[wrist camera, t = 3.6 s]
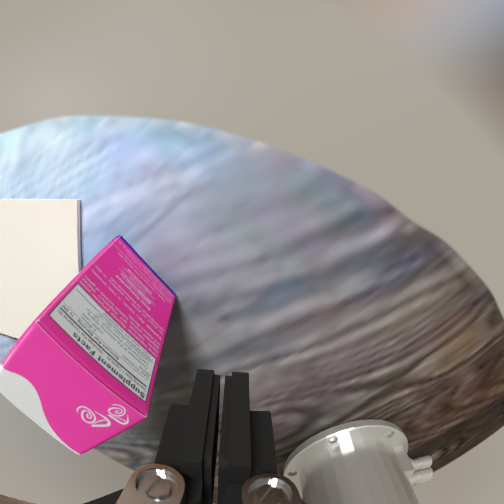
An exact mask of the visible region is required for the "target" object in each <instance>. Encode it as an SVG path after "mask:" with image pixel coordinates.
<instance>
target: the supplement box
mask: <svg viewBox="0 0 504 504" xmlns="http://www.w3.org/2000/svg"><path fill="white" fill-rule="evenodd" d="M175 297H176V294H175V293H174V292H173V291H172V290H171V289H170V288H169V287H168V286H167V285H166V284H165V282H164V281H163V280H162V279H161V278H160V277H159V276H158V275H157V274H156V273H155V272H154V271H153V270H152V269H151V268H150V267H149V266H148V264H147V263H146V262H145V261H144V260H143V259H142V258H141V257H140V256H139V255H138V254H137V252H136V251H135V250H134V249H133V248H132V247H131V246H130V245H129V244H128V243H127V241H126V240H125V239H124V238H123V237H122V236H121V235H118V236H117V237H116V238H114V239H113V240H112V241H111V242H110V243H109V244H108V245H107V246H106V247H105V248H103V249H102V250H101V251H100V252H99V253H98V254H97V255H96V256H95V257H94V258H93V259H92V260H91V261H90V262H89V263H88V264H87V265H86V266H85V267H84V268H83V269H82V270H81V271H80V272H79V273H78V274H77V275H76V276H75V277H74V278H73V279H72V280H71V281H70V282H69V283H68V285H67V286H66V287H65V288H64V289H63V290H62V291H61V292H60V293H59V294H58V295H57V296H56V297H55V298H54V299H53V300H52V301H51V302H50V303H49V305H48V306H47V307H46V308H45V309H44V310H43V311H42V312H41V313H40V314H39V315H38V316H37V318H36V319H35V320H34V321H33V322H32V323H31V324H30V326H29V327H28V328H27V329H26V330H25V331H24V333H23V334H22V335H21V337H20V338H19V339H18V340H17V342H16V343H15V344H14V346H13V347H12V348H11V350H10V351H9V353H8V354H7V355H6V357H5V358H4V360H3V361H2V363H1V364H0V393H1V394H3V395H4V396H5V397H6V398H7V399H8V400H9V401H10V402H11V403H12V404H14V405H15V406H16V407H17V408H18V409H20V410H21V411H22V412H23V413H24V414H25V415H27V416H28V417H29V418H30V419H31V420H33V421H34V422H35V423H36V424H38V425H39V426H40V427H41V428H43V429H44V430H45V431H46V432H48V433H49V434H50V435H51V436H53V437H54V438H55V439H57V440H58V441H59V442H61V443H62V444H63V445H65V446H66V447H67V448H69V449H70V450H72V451H73V452H75V453H76V454H78V455H81V454H83V453H85V452H87V451H89V450H90V449H92V448H94V447H96V446H98V445H100V444H102V443H103V442H105V441H107V440H109V439H111V438H112V437H114V436H116V435H118V434H120V433H121V432H123V431H125V430H127V429H129V428H130V427H132V426H134V425H135V424H137V423H139V422H141V421H142V420H144V419H146V418H147V416H148V411H149V406H150V401H151V396H152V392H153V387H154V383H155V378H156V374H157V369H158V365H159V361H160V357H161V352H162V348H163V344H164V340H165V335H166V331H167V327H168V324H169V320H170V316H171V312H172V308H173V304H174V301H175Z"/></svg>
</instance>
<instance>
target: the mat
mask: <svg viewBox="0 0 504 504" xmlns="http://www.w3.org/2000/svg"><path fill="white" fill-rule="evenodd" d="M80 201H81V200H74V199H0V333H2V334H5V335H8V336H12V337H15V338H18V339H19V338H20V337H21V335H22V334H23V333H24V331H25V330H26V329H27V328H28V327H29V326H30V324H31V323H32V322H33V321H34V320H35V319H36V318H37V316H38V315H39V314H40V313H41V312H42V311H43V310H44V309H45V308H46V307H47V306H48V305H49V303H50V302H51V301H52V300H53V299H54V298H55V297H56V296H57V295H58V294H59V293H60V292H61V291H62V290H63V289H64V288H65V287H66V286H67V285H68V283H69V282H70V281H71V280H72V279H73V278H74V277H75V276H76V275H77V274H78V273H79V272H80V271H81V270H82V264H81V237H80Z"/></svg>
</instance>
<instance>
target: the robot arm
mask: <svg viewBox="0 0 504 504" xmlns="http://www.w3.org/2000/svg"><path fill="white" fill-rule="evenodd" d="M219 395H220V375H214V370H204V369H198V370H197V374H196V378H195V383H194V388H193V392H192V397H191V402H190V406H186V405H177V404H171V406H170V409H169V413H168V416H167V420H166V423H165V427H164V431H163V434H162V438H161V442H160V445H159V449H158V453H157V456H156V460H155V464H148V465H145V466H141V467H140V468H138V469H137V470H135V471H134V473H133V474H132V475H131V477H130V478H129V480H128V482H127V484H126V486H125V488H124V489H121V490H119V491H116V492H114V493H111V494H109V495H106V496H104V497H101V498H99V499H96V500H93V501H90V502H87V503H84V504H213V492H214V479H215V466H216V454H217V441H218V423H219ZM407 452H408V441H407V438H406V436H405V434H404V433H403V431H402V430H401V429H400V428H399V427H398V426H397V425H395V424H393V423H391V422H388V421H384V420H373V419H369V420H358V421H353V422H348V423H344V424H341V425H338V426H334V427H331V428H329V429H327V430H324V431H322V432H320V433H318V434H316V435H314V436H313V437H311V438H309V439H307V440H306V441H305V442H303V443H302V444H301V445H299V446H298V447H297V448H296V449H295V450H294V451H293V452H292V453H291V454H290V455H289V457H288V458H287V460H286V461H285V464H284V467H283V476H282V475H279V474H277V466H276V457H275V447H274V438H273V429H272V420H271V413H270V411H250V404H249V373H243V372H232V376H225V387H224V400H223V413H222V426H221V439H220V453H219V473H218V504H420V503H419V501H418V499H417V497H416V494H415V492H414V490H413V488H412V486H411V485H418V484H421V483H425V482H429V481H430V480H431V479H432V476H433V471H432V468H431V467H430V466H431V464H432V458H431V456H430V455H428V456H423V457H419V458H417V459H411V458H409V457H408V455H407ZM301 498H302V499H303V502H302V499H301ZM0 504H35V503H30V502H27V501H23V500H18V499H15V498H11V497H8V496H4V495H0Z"/></svg>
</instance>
